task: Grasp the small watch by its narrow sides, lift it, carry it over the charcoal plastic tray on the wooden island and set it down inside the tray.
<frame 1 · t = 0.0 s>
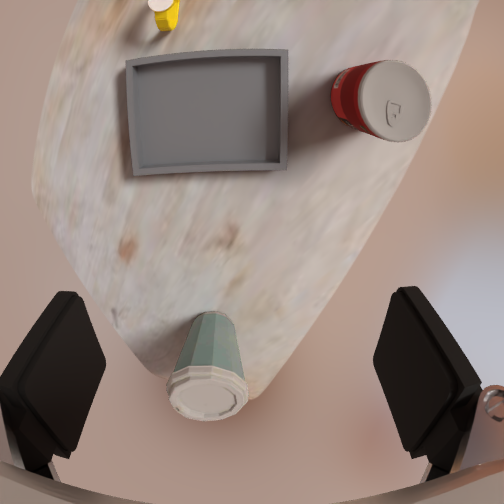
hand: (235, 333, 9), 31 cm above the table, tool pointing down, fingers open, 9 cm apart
canned food: (358, 97, 34), on the table
tray: (207, 109, 34), on the table
disposable coffee cup: (214, 326, 49), on the table
watch: (173, 12, 28), on the table
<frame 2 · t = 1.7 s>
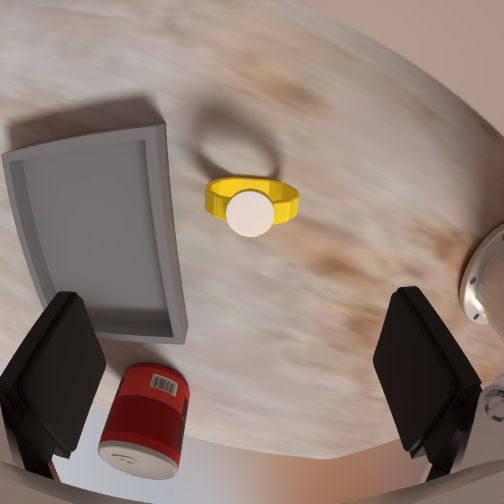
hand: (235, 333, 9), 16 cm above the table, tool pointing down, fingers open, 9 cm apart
canned food: (157, 381, 33), on the table
tray: (98, 239, 25), on the table
watch: (251, 186, 23), on the table
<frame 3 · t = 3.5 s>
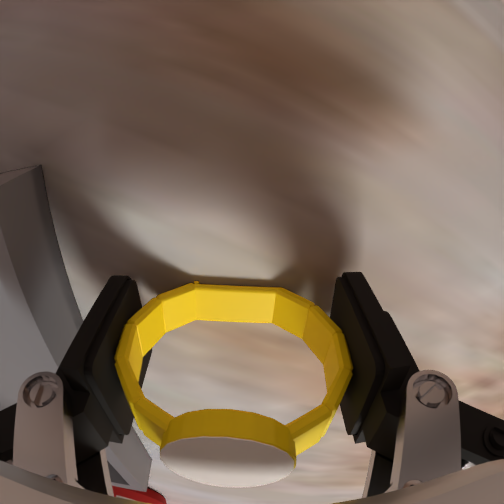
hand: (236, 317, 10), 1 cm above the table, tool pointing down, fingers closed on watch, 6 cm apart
canned food: (125, 488, 21), on the table
watch: (235, 297, 11), on the table, touching gripper
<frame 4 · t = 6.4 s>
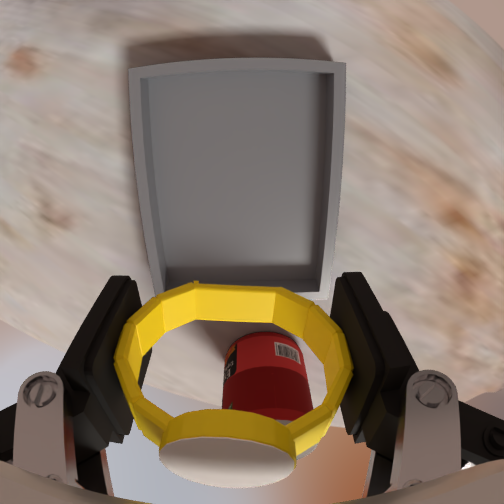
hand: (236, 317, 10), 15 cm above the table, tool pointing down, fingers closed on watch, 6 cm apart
canned food: (263, 355, 32), on the table
tray: (239, 182, 23), on the table
watch: (235, 297, 11), point 14 cm above the table, touching gripper
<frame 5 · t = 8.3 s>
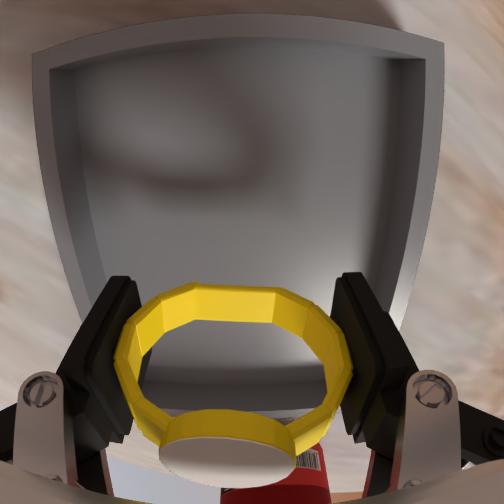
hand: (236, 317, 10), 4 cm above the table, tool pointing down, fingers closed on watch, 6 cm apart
canned food: (272, 446, 22), on the table
tray: (239, 250, 14), on the table
watch: (235, 297, 11), point 3 cm above the table, touching gripper
when the fingers open (3 cm above the table, at t = 9.5 s): watch drops 2 cm, resting on tray.
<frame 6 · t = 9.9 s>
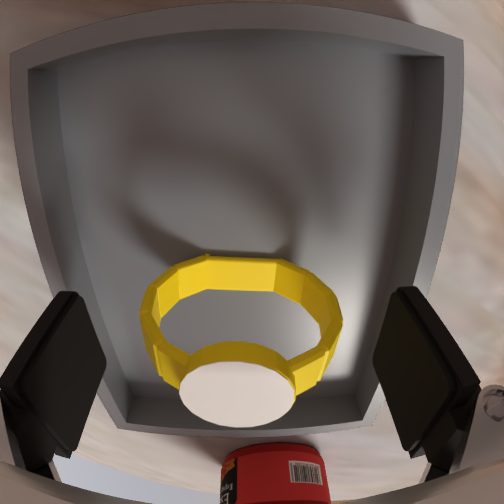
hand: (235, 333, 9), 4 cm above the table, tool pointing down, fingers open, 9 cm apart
canned food: (272, 459, 21), on the table
tray: (237, 264, 13), on the table
watch: (241, 269, 12), resting on tray
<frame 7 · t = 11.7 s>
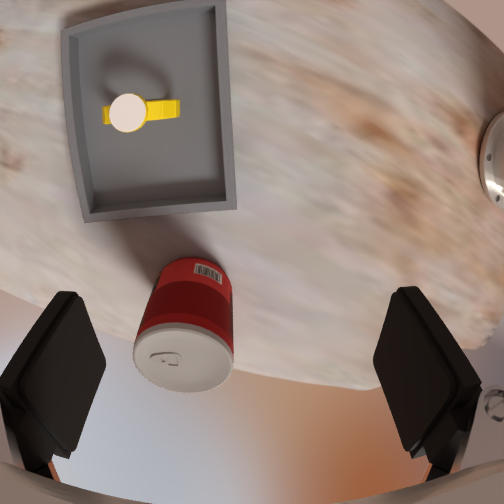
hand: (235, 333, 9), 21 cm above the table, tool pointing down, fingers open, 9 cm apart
canned food: (194, 285, 33), on the table
tray: (149, 109, 24), on the table
watch: (150, 109, 24), resting on tray
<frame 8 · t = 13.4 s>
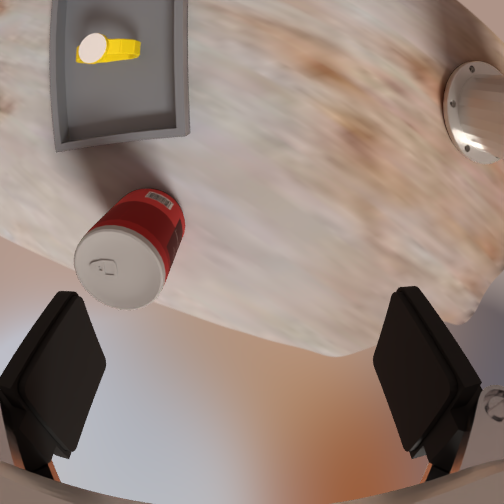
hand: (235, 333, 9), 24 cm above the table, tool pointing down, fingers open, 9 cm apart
canned food: (151, 219, 33), on the table
tray: (119, 55, 25), on the table
watch: (119, 54, 24), resting on tray
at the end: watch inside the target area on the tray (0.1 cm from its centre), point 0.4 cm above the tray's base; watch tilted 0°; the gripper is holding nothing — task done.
